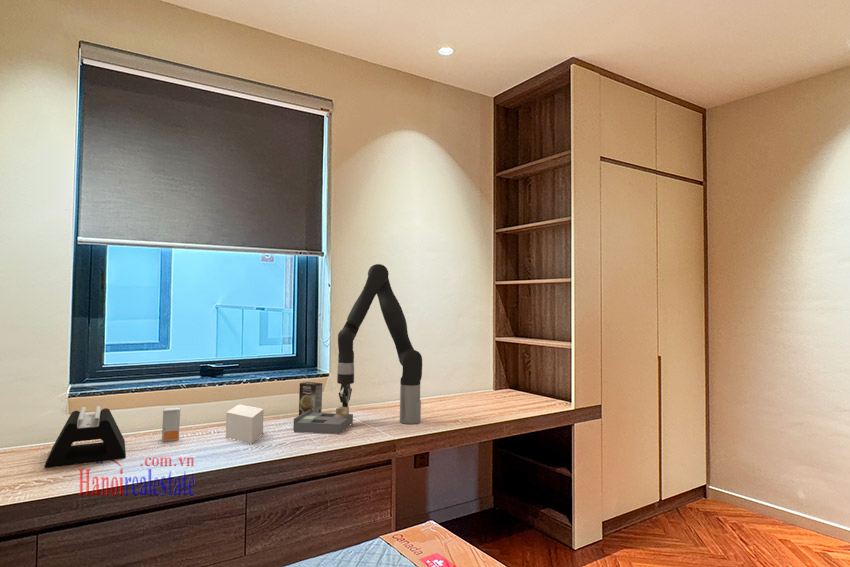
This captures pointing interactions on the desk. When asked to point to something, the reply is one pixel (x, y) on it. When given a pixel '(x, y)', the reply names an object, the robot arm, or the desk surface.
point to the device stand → (83, 430)
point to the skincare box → (171, 424)
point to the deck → (321, 422)
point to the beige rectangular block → (244, 423)
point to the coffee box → (310, 397)
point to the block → (342, 412)
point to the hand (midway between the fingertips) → (345, 411)
